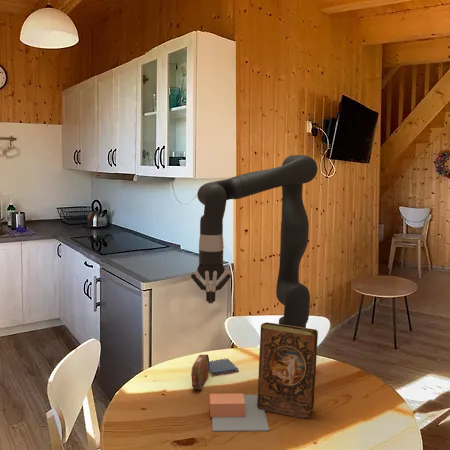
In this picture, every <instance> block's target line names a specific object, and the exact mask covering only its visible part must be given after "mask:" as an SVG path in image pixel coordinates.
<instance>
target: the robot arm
mask: <svg viewBox="0 0 450 450" xmlns="http://www.w3.org/2000/svg"><path fill="white" fill-rule="evenodd" d="M318 170H319V169H318V164H317V162H316V160H315V159H314V158H313V157H311V156H308V155H307V154H306V155H305V154H304V155H303V154H291V155H289V156H287V157H286V158H284V160H283V162H282V164H281V165H280V166H277V167H272V168H269V169H260V170H256V171H250V172H246V173H243V174H239V175H236V176H233V177H230V178H226V179H220V180H216V181H215V180H214V181H211V182H207V183H204V184H202V185H201V186H200V187H199V189H198V190H197V199H198V201H199V203H201V204H202V205H203V206H204V207H203V208H204V209H203V215H201V217H200V219H199V220H200V221H199V223H200V224H199V238H198V240H199V242H198V266H197V268H196V269H197V270H195V271H194V272H192V273H190V274H191V275H190V277H191V279H192V280H193V282H194V283H195V284H196V285H197V286H198V288H199V289H200V290H201V291H205V293H206V294H205V295H206V296H205V297H206V298H205V299H206V300H205V301H206V302H208V304H214V302H216V292H217V291H220V290H221V289H222V288H223V287H224V286H225V285H226V284H227V283H228V281H229V280H230V279H231V277H232V275H231V272H227V271H226V270H225V266H224V248H225V247H224V235H223V231H224V230H223V228H224V225H223V224H224V223H223V222H224V221H223V220H224V216H225V212H226V206H227V201H228V200H239V199H242V198H246V197H249V196H253V195H256V194H260V193H263V192H266V191H269V190H273V189H277V188H280V187H281V193H282V195H281V197H282V198H281V199H282V200H281V223H280V224H281V225H280V237H279V238H280V248H279V249H280V250H279V268H278V274H277V275H278V276H277V281H276V286H275V287H276V289H275V294H276V298H277V300H278V302H279V303H280V304H281V305H283V306H284V310H283V316H281V317H280V318H279V319H278V324H282V325H289V326H296V327H302V328H307V327H306V326H307V323H308V322H309V319H310V318H309V316H310V307H311V306H310V305H311V293H310V290H309V288H308V287H307V286H306V285H304V284H303V283H301V282H300V278H299V277H300V265H301V261H302V258H303V257H304V254H305V252H306V249H307V247H308V243H309V231H310V229H309V228H310V224H309V223H310V222H309V218H308V214H307V211H306V208H305V205H304V204H305V203H304V201H303V184H307V183H310V182H312V181H313V180H314V179H315V178H316V176H317V173H318ZM199 277H201V278H202V279H203V280H204V281H205V283H203V282H202V281H201V279H200V278H199ZM221 277H222V279H221V280H220V281H219V283H218V284H217V281H218V280H219V279H220V278H221ZM210 282H211V284H210ZM210 285H211V286H210Z"/></svg>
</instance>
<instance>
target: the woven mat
mask: <svg viewBox="0 0 450 450" xmlns="http://www.w3.org/2000/svg"><path fill="white" fill-rule="evenodd" d="M239 372H240V371H239V368H238V366H236V364H234V363H233V361H231V360H230V359H229V358H223V359H221V358H220V359H215V360H213V359H212V360H209V374H210V376H211V377H218V376H225V375H228V374H236V373H239Z"/></svg>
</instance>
